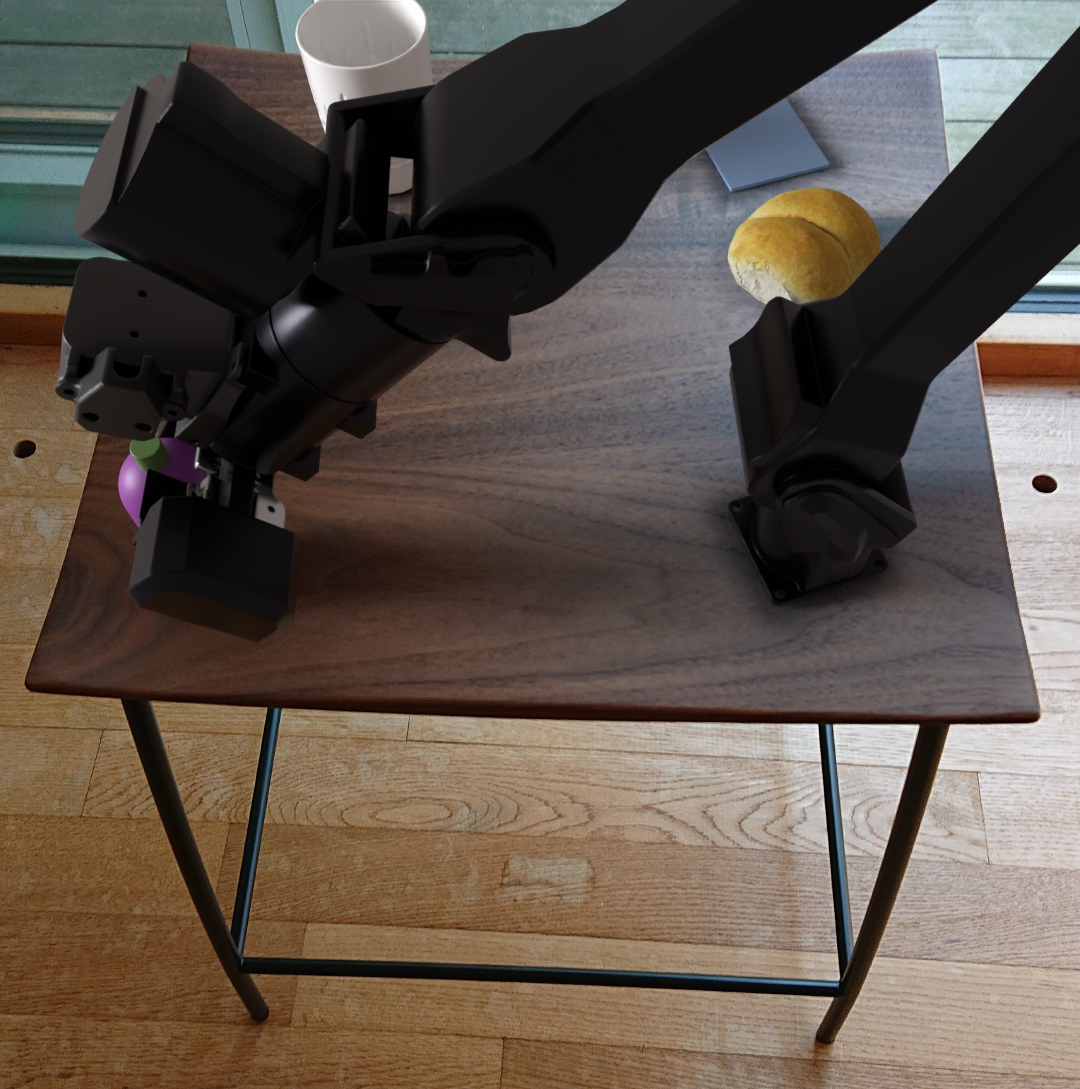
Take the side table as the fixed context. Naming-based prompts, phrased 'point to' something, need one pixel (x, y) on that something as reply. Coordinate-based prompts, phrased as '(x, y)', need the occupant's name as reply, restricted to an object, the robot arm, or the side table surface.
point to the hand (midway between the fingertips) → (149, 502)
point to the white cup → (365, 56)
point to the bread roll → (803, 246)
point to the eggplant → (155, 468)
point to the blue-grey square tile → (767, 150)
